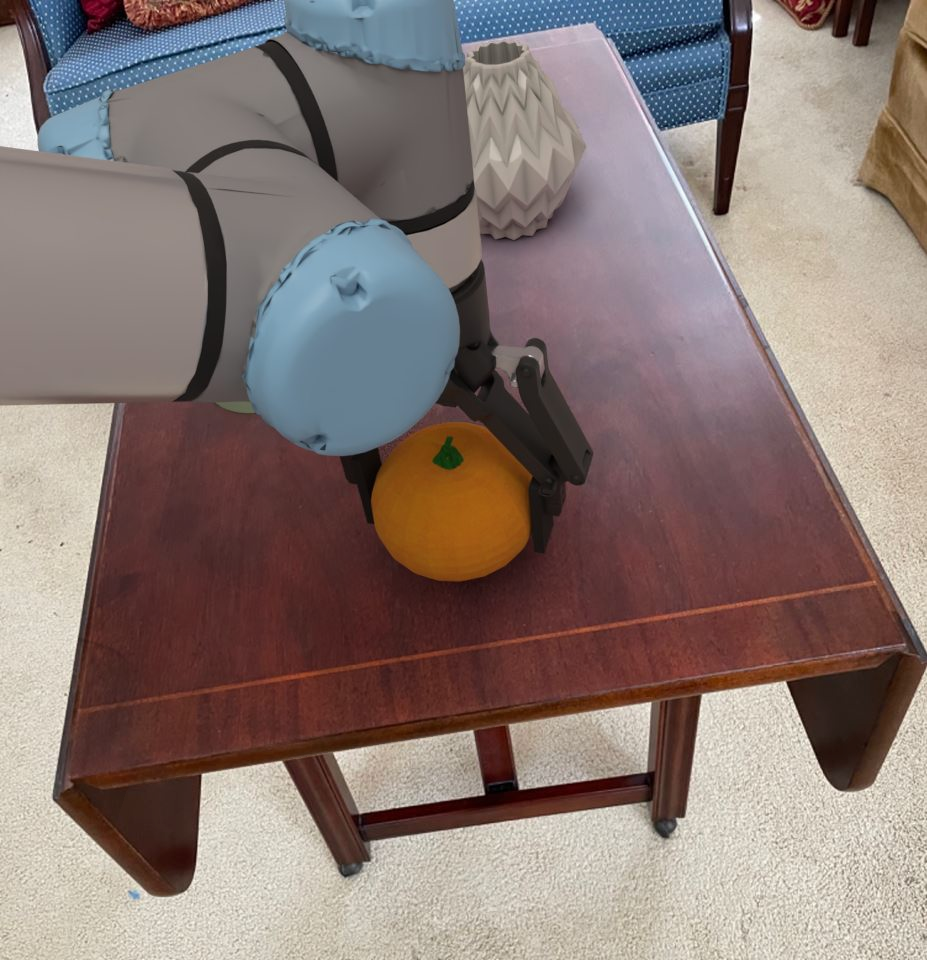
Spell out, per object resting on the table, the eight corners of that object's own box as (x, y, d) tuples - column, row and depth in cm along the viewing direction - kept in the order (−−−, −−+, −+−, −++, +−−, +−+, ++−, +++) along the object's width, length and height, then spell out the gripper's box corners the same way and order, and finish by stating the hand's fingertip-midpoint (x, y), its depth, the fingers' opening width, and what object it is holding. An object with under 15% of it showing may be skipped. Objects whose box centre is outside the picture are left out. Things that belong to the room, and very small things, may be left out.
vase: (603, 188, 107) (601, 20, 93) (560, 270, 97) (550, 96, 84) (471, 176, 112) (451, 15, 99) (417, 253, 102) (387, 86, 89)
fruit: (506, 459, 73) (495, 359, 66) (568, 567, 65) (564, 467, 58) (362, 507, 71) (336, 410, 64) (408, 625, 63) (384, 529, 56)
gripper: (646, 246, 51) (636, 511, 66) (252, 216, 57) (327, 463, 73) (620, 331, 46) (615, 595, 62) (193, 287, 53) (287, 535, 68)
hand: (459, 524), depth 67 cm, fingers closed on fruit, 12 cm apart
